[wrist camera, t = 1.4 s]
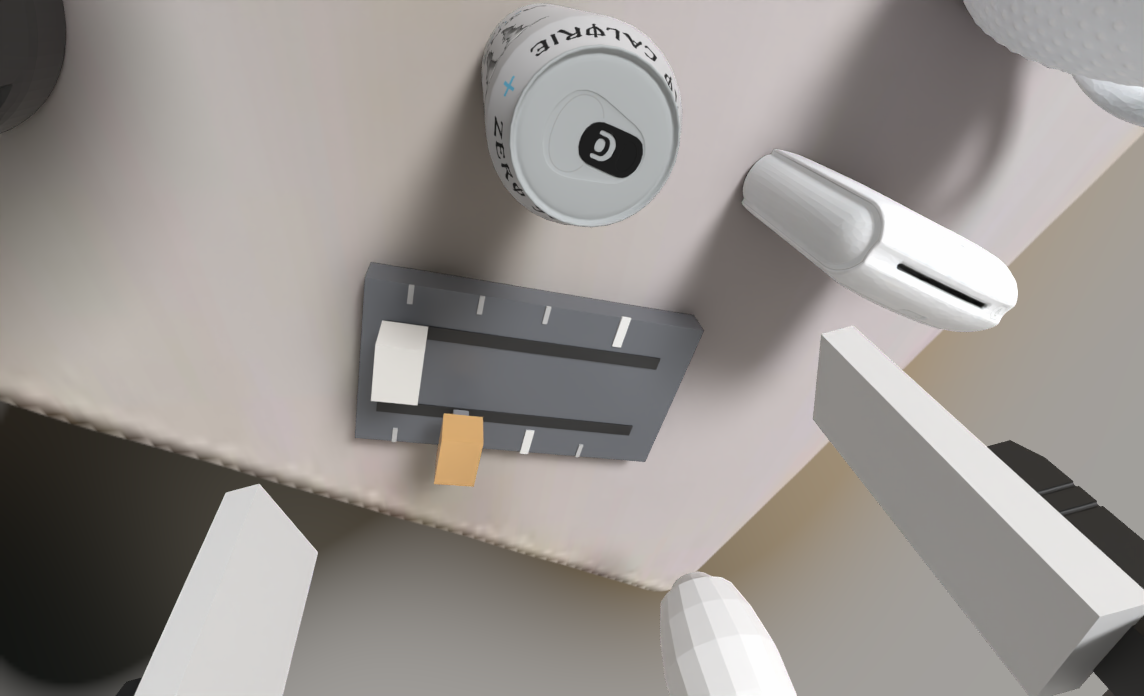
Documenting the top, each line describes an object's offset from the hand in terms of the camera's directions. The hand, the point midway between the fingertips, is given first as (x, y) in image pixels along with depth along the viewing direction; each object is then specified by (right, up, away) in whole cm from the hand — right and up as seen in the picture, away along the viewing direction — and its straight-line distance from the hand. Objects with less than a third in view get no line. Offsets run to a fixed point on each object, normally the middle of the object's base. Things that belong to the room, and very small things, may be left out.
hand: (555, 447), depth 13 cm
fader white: (-9, +3, +19) cm, 21 cm away
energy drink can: (-1, +16, +15) cm, 22 cm away
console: (-3, +1, +24) cm, 25 cm away
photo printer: (+15, +12, +21) cm, 28 cm away
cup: (+7, -9, +33) cm, 35 cm away
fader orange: (-7, -2, +23) cm, 24 cm away
